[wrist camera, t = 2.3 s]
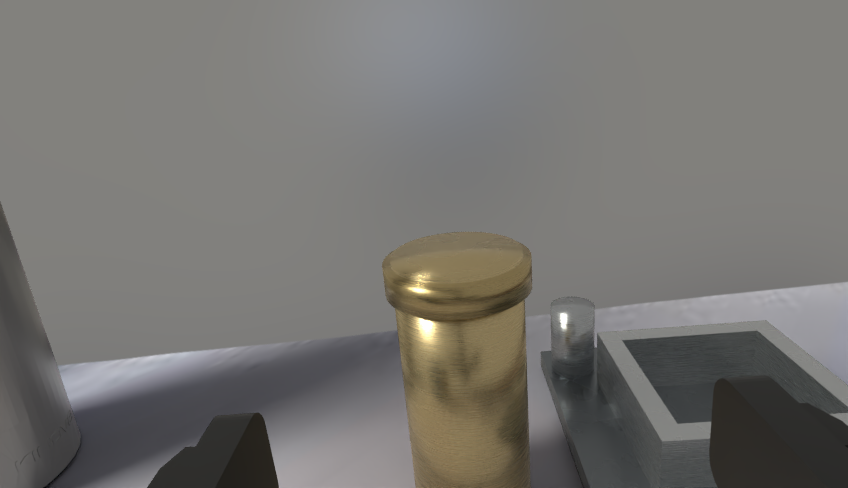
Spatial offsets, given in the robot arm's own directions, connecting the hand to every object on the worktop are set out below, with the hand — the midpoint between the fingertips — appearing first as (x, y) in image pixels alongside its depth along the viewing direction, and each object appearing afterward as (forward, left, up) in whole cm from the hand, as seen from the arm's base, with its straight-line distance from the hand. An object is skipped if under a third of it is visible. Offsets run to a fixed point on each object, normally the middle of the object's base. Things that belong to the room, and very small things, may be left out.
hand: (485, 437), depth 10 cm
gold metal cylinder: (0, +11, -13) cm, 17 cm away
